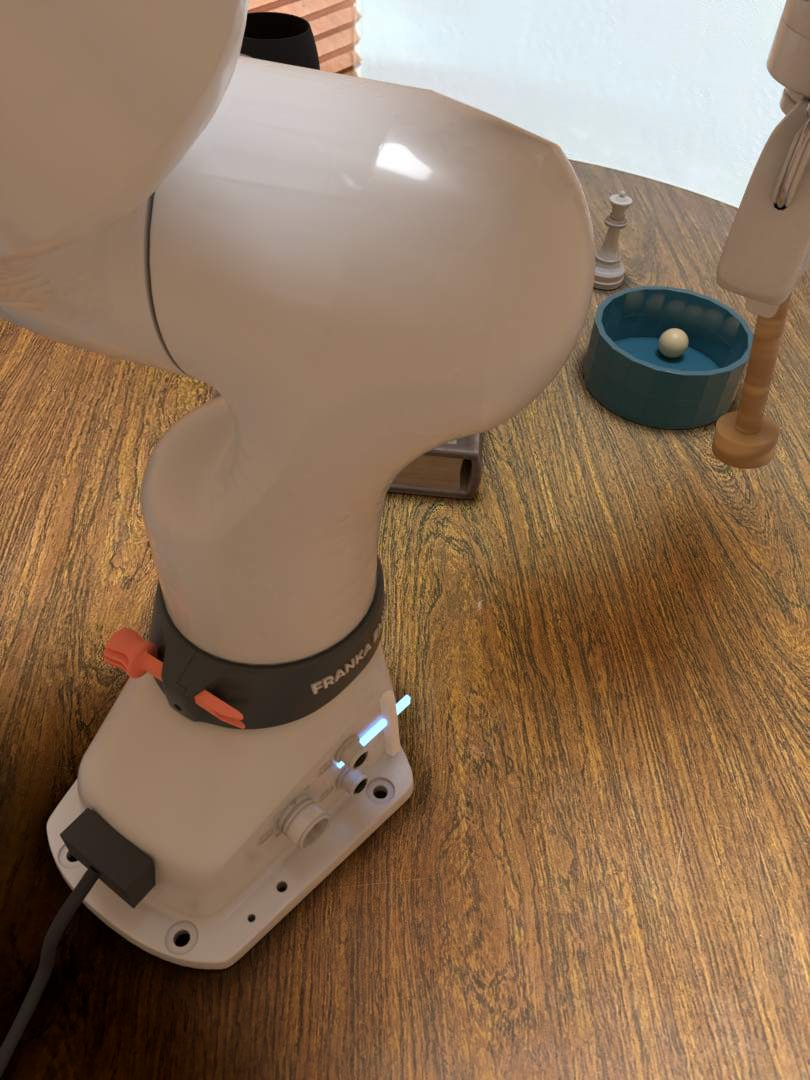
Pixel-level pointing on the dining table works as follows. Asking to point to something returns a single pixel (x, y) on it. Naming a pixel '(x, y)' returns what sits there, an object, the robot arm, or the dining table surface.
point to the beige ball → (673, 343)
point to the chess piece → (612, 246)
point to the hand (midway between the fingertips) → (769, 298)
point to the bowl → (656, 380)
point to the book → (441, 469)
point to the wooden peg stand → (753, 402)
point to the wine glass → (280, 39)
